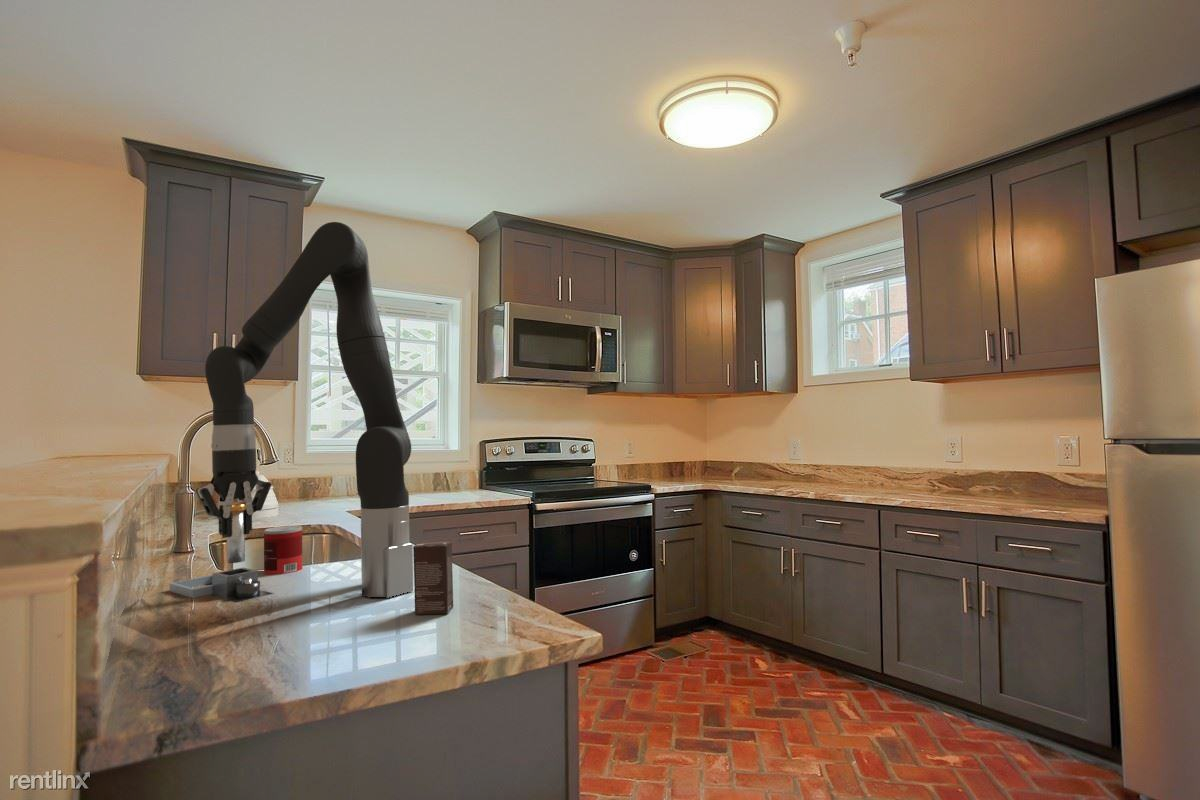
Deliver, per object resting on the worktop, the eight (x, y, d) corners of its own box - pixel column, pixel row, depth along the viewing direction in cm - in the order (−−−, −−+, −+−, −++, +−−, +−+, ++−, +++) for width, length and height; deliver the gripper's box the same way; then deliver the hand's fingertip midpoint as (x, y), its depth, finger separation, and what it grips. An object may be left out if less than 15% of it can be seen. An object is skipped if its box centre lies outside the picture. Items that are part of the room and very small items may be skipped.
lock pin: (251, 560, 124) (249, 503, 124) (230, 564, 120) (229, 506, 121) (241, 558, 126) (240, 502, 126) (221, 562, 123) (220, 505, 123)
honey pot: (233, 519, 242) (233, 472, 243) (260, 514, 254) (260, 470, 255) (260, 520, 238) (259, 472, 239) (286, 515, 251) (285, 470, 252)
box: (454, 607, 114) (452, 540, 114) (447, 614, 109) (446, 545, 110) (420, 608, 114) (419, 541, 114) (413, 615, 109) (412, 546, 110)
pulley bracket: (273, 601, 121) (273, 572, 121) (236, 610, 116) (235, 580, 116) (245, 593, 127) (245, 566, 128) (208, 602, 122) (208, 573, 122)
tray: (237, 595, 127) (237, 580, 127) (192, 605, 120) (192, 589, 120) (213, 588, 132) (213, 574, 132) (169, 598, 126) (169, 583, 126)
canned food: (308, 572, 146) (307, 524, 146) (292, 580, 138) (292, 530, 138) (275, 573, 145) (274, 526, 146) (257, 582, 137) (257, 531, 138)
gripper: (204, 449, 116) (206, 543, 115) (279, 445, 128) (281, 530, 127) (186, 450, 120) (187, 540, 120) (260, 446, 132) (262, 528, 131)
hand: (235, 535), depth 123 cm, fingers closed on lock pin, 3 cm apart
